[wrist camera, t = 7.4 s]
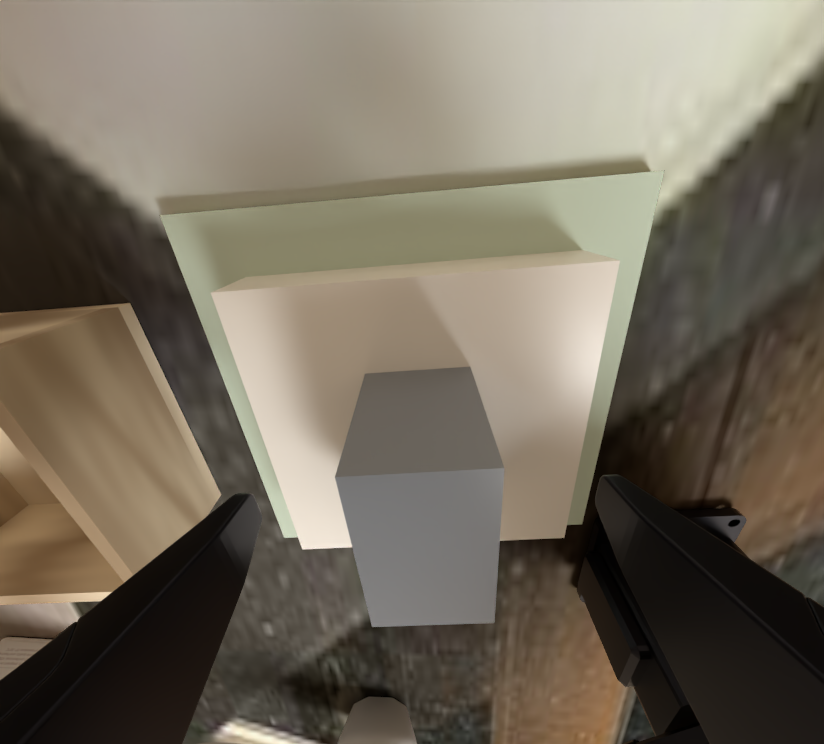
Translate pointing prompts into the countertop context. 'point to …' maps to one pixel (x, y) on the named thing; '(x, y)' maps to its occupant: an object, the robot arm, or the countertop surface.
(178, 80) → the countertop surface
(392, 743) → the salt shaker
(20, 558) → the box
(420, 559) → the lid
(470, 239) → the mat
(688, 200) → the countertop surface
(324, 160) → the countertop surface
